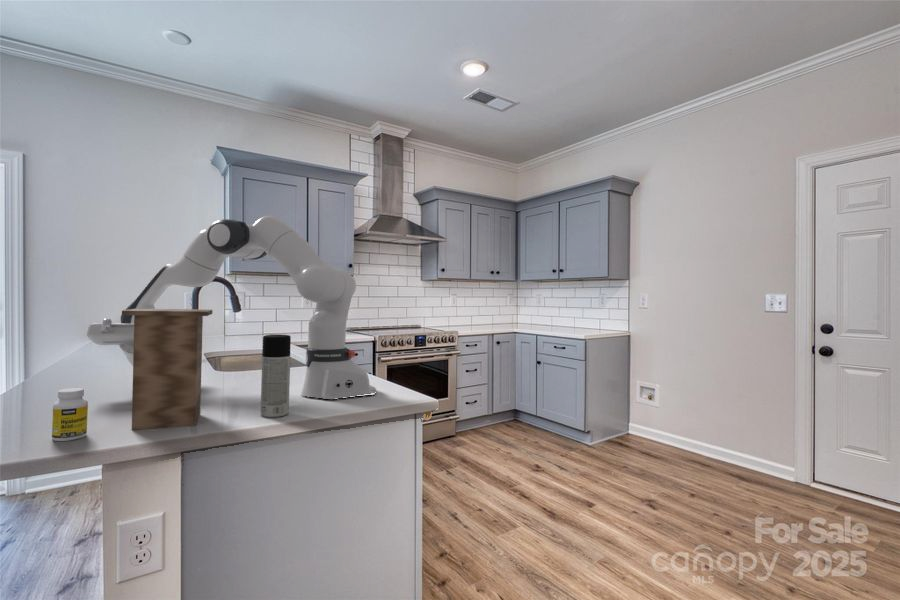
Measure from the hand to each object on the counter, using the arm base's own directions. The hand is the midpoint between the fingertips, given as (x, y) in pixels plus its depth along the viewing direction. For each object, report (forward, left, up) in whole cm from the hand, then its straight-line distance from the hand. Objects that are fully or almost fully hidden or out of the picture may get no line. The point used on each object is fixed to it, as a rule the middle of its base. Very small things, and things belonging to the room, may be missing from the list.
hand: (127, 321), depth 119 cm
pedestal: (-14, +25, -22) cm, 36 cm away
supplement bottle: (+2, +32, -22) cm, 39 cm away
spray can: (-37, +26, -22) cm, 50 cm away
